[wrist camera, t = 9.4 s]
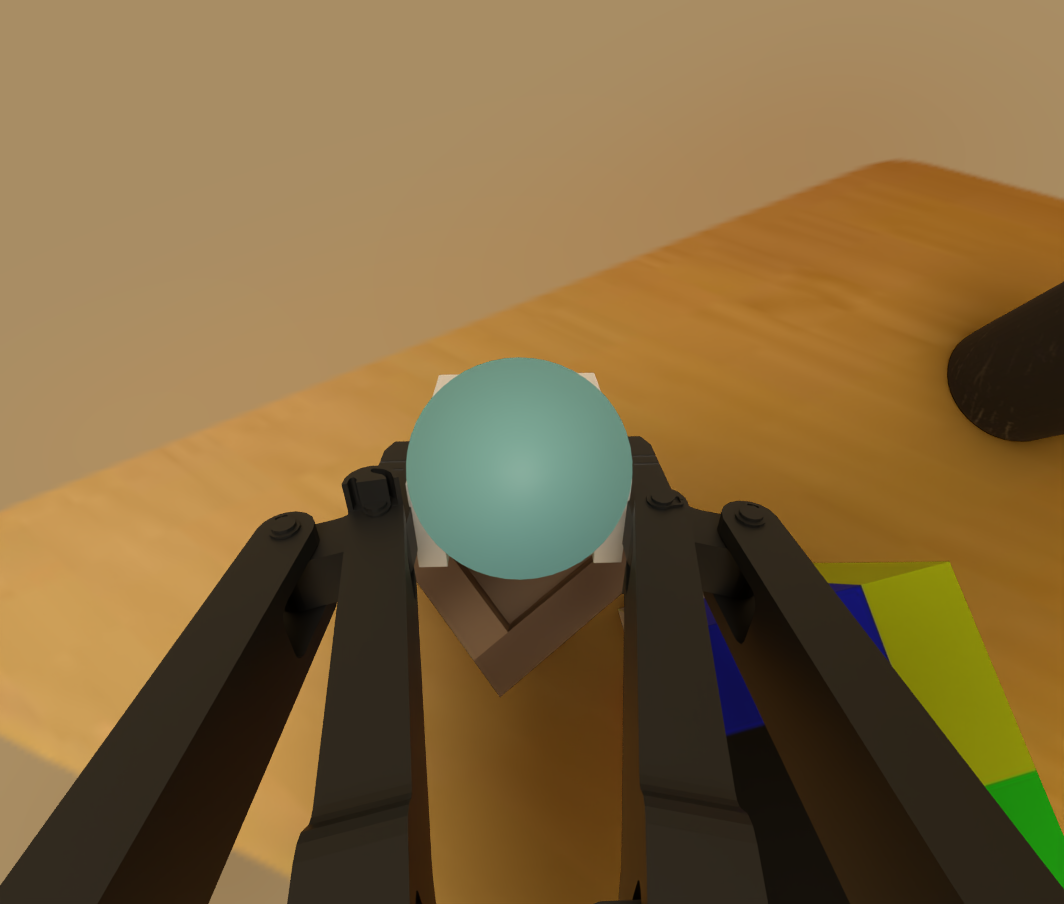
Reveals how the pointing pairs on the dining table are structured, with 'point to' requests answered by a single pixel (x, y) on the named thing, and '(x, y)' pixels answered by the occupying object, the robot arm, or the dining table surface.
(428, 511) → the teal dowel
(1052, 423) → the travel mug
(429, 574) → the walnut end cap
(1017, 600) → the dining table surface
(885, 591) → the puzzle toy
